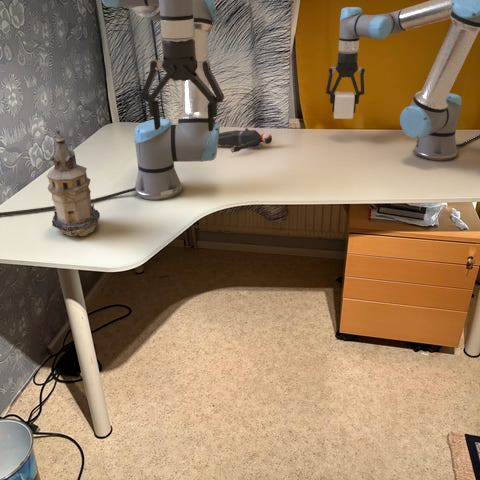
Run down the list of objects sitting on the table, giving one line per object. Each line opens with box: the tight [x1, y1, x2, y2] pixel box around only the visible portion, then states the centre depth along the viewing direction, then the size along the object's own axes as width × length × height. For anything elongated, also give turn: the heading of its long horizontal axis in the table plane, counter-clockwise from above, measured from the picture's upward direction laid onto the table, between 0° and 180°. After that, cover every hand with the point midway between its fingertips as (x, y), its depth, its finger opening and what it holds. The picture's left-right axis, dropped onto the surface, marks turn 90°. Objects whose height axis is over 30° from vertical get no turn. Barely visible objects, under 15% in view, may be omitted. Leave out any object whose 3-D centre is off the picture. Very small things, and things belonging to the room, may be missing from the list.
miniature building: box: [46, 129, 101, 237], centre depth 148 cm, size 13×14×30 cm
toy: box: [218, 127, 273, 154], centre depth 215 cm, size 26×6×30 cm
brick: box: [333, 91, 356, 120], centre depth 212 cm, size 7×8×9 cm
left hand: (184, 128), depth 133 cm, fingers open, 13 cm apart
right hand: (343, 111), depth 214 cm, fingers closed on brick, 7 cm apart
